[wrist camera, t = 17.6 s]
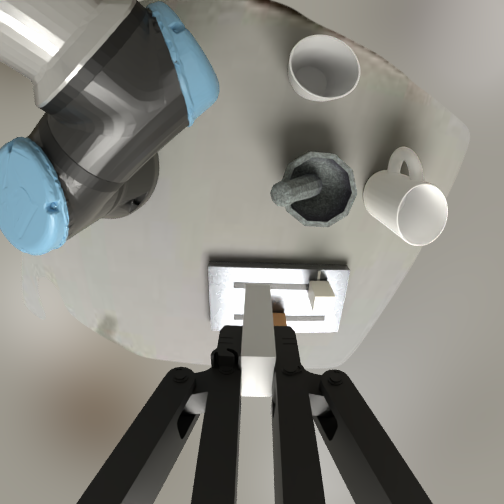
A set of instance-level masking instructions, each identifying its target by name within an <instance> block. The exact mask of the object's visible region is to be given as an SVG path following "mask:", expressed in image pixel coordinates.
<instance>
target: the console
mask: <svg viewBox="0 0 504 504" xmlns="http://www.w3.org/2000/svg"><path fill="white" fill-rule="evenodd" d="M349 274H350V269H349V268H348V266H347V265H319V264H281V263H248V262H217V261H210V263H209V265H208V277H209V300H210V319H211V330H219V331H220V330H221V329H222V328H223V327H224V325H237V326H243V316H244V300H245V285H246V284H265V285H270V290H271V301H272V313H285V316H286V323H287V326H291V328H292V329H293V330H294V331H295V332H338V328H339V324H340V319H341V314H342V310H343V305H344V300H345V295H346V290H347V285H348V279H349ZM310 281H329V283H330V286H331V288H332V290H333V292H334V294H335V302H334V308H333V312H313V311H312V308H311V304H310V301H309V298H308V290H309V282H310Z"/></svg>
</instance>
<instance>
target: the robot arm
mask: <svg viewBox="0 0 504 504" xmlns="http://www.w3.org/2000/svg"><path fill="white" fill-rule="evenodd" d="M0 61H1V62H3V63H5V64H6V65H8V66H9V67H11V68H12V69H14V70H16V71H17V72H19V73H21V74H22V75H24V76H25V77H27V78H29V79H30V80H31V82H32V84H33V88H34V99H35V105H36V106H37V107H38V108H40V109H42V110H43V111H45V112H46V113H45V114H44V115H43V117H42V118H41V119H40V121H39V123H38V124H37V125H36V127H35V128H34V130H33V131H32V132H31V134H30V135H29V136H28V137H26V138H24V137H17V138H15V139H13V140H12V141H10V142H8V143H6V144H5V145H4V146H3V147H2V148H1V149H0V229H1V231H2V233H3V234H4V236H5V237H6V238H7V239H8V241H9V242H10V243H11V244H12V245H13V246H14V247H16V248H17V249H19V250H20V251H22V252H25V253H28V254H31V255H42V254H45V253H47V252H49V251H51V250H53V249H57V248H59V247H61V246H62V245H63V244H64V243H65V241H67V240H68V239H70V238H71V237H73V236H74V235H76V234H77V233H79V232H80V231H82V230H83V229H85V228H87V227H88V226H90V225H91V224H93V223H94V222H96V221H98V220H99V219H101V218H105V219H116V218H121V217H125V216H127V215H129V214H131V213H133V212H134V211H136V210H137V209H139V208H140V207H142V206H143V205H144V204H145V203H146V202H147V201H148V199H149V198H150V197H151V195H152V193H153V191H154V189H155V187H156V184H157V180H158V175H159V160H158V154H157V152H158V151H159V150H160V149H161V148H163V147H164V146H165V145H166V144H167V143H168V142H169V141H170V140H172V139H173V138H174V137H175V136H176V135H177V134H178V133H180V132H181V131H182V130H183V129H184V128H186V127H190V126H192V124H193V123H194V120H195V119H196V118H197V117H199V116H200V115H201V114H202V113H203V112H204V111H205V110H207V109H208V108H209V107H210V106H211V105H212V104H214V102H215V101H216V100H217V98H218V94H219V82H218V79H217V76H216V74H215V72H214V70H213V68H212V66H211V64H210V62H209V60H208V59H207V57H206V55H205V54H204V52H203V50H202V49H201V47H200V46H199V44H198V43H197V41H196V40H195V38H194V37H193V36H192V34H191V33H190V31H189V30H187V29H186V28H185V26H184V24H183V23H182V22H181V21H180V19H179V17H178V16H177V15H176V13H175V12H174V11H173V10H172V9H171V8H170V7H169V6H168V5H166V4H165V3H163V2H160V1H158V2H155V3H151V4H149V5H147V7H146V9H145V8H144V7H143V6H142V5H141V4H140V3H139V2H138V1H137V0H0ZM211 365H212V367H211V368H210V369H208V370H206V371H203V372H198V373H194V372H193V371H192V370H190V369H188V368H186V367H177V368H174V369H171V370H170V371H169V372H168V373H167V374H166V376H165V377H164V378H163V380H162V381H161V383H160V384H159V386H158V387H157V388H156V390H155V391H154V393H153V394H152V396H151V397H150V399H149V400H148V401H147V403H146V404H145V406H144V407H143V409H142V410H141V412H140V413H139V414H138V416H137V417H136V419H135V420H134V422H133V423H132V424H131V426H130V427H129V429H128V430H127V432H126V433H125V435H124V436H123V437H122V439H121V440H120V442H119V443H118V445H117V446H116V447H115V449H114V450H113V452H112V453H111V455H110V456H109V458H108V459H107V460H106V462H105V463H104V465H103V466H102V468H101V469H100V471H99V472H98V473H97V475H96V476H95V478H94V479H93V481H92V482H91V483H90V485H89V486H88V488H87V489H86V491H85V492H84V494H83V495H82V496H81V498H80V499H79V501H78V502H77V504H153V503H154V501H155V499H156V497H157V495H158V494H159V492H160V490H161V488H162V486H163V484H164V482H165V481H166V479H167V477H168V475H169V473H170V471H171V469H172V468H173V465H174V464H175V462H176V460H177V458H178V456H179V454H180V452H181V450H182V449H183V447H184V445H185V443H186V441H187V439H188V437H189V435H190V433H191V431H192V429H193V427H194V425H195V423H196V421H197V420H198V418H199V416H200V413H204V419H203V425H202V432H201V439H200V445H199V452H198V458H197V465H196V472H195V479H194V486H193V493H192V500H191V504H236V501H237V499H236V498H237V477H238V456H239V434H240V414H241V396H258V397H272V405H271V414H272V428H273V429H272V431H273V458H274V486H275V487H274V489H275V504H325V497H324V489H323V482H322V476H321V468H320V461H319V454H318V448H317V441H316V435H315V428H314V422H315V424H316V426H317V428H318V430H319V432H320V434H321V436H322V438H323V440H324V442H325V444H326V446H327V448H328V450H329V452H330V454H331V456H332V458H333V460H334V462H335V464H336V466H337V468H338V470H339V472H340V474H341V476H342V478H343V480H344V482H345V484H346V486H347V488H348V490H349V491H350V494H351V496H352V498H353V500H354V502H355V503H356V504H432V502H431V500H430V499H429V498H428V496H427V494H426V493H425V491H424V490H423V488H422V487H421V485H420V484H419V482H418V480H417V479H416V478H415V476H414V474H413V473H412V471H411V470H410V468H409V467H408V465H407V464H406V462H405V461H404V459H403V458H402V456H401V455H400V453H399V452H398V450H397V449H396V447H395V446H394V444H393V442H392V441H391V439H390V438H389V436H388V435H387V433H386V432H385V430H384V429H383V427H382V426H381V425H380V423H379V421H378V420H377V418H376V417H375V416H374V414H373V412H372V411H371V409H370V408H369V406H368V405H367V404H366V402H365V400H364V399H363V397H362V396H361V394H360V393H359V392H358V390H357V389H356V387H355V386H354V384H353V383H352V381H351V380H350V378H349V377H348V376H347V374H345V373H344V372H342V371H340V370H328V371H326V372H325V373H324V374H323V375H318V374H313V373H310V372H308V371H306V370H305V369H304V367H303V366H302V365H301V363H300V357H299V351H298V345H297V340H296V334H295V331H294V330H293V329H292V328H291V326H274V325H273V313H272V301H271V290H270V285H265V284H246V285H245V300H244V316H243V326H237V325H224V327H223V328H222V329H221V330H220V334H219V340H218V346H217V348H216V349H215V350H214V351H212V353H211ZM313 420H314V422H313Z"/></svg>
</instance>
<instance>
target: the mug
mask: <svg viewBox="0 0 504 504" xmlns="http://www.w3.org/2000/svg"><path fill="white" fill-rule="evenodd" d="M403 161H405V162H406V164H407V167H408V171H409V176H407V175H404V174H401V173H400V169H401V166H402V163H403ZM363 200H364V204H365V207H366V209H367V211H368V212H369V213H370V214H371V215H372V216H373V217H375V218H376V219H377V220H379V221H380V222H381V223H383V224H384V225H385V226H386V227H388V228H389V229H390V230H392V231H393V232H394V233H395V234H397V235H398V236H399V237H401V238H402V239H403V240H404V241H406V242H407V243H409V244H411V245H415V246H422V245H426V244H429V243H431V242H432V241H434V240H435V239H436V238H437V237H438V236H439V235H440V234H441V232H442V230H443V229H444V227H445V224H446V221H447V216H448V207H447V202H446V199H445V197H444V195H443V193H442V192H441V190H440V189H439V188H438V187H436V186H435V185H433V184H431V183H428V182H425V181H424V174H423V168H422V165H421V162H420V160H419V158H418V156H417V155H416V153H415V152H414V151H413V150H412V149H410V148H408V147H399V148H397V149H396V150H395V151H394V152H393V154H392V155H391V157H390V160H389V164H388V169H387V170H382V171H379V172H377V173H375V174H373V175H372V176H371V177H370V178H369V180H368V181H367V183H366V185H365V188H364V192H363Z"/></svg>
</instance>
